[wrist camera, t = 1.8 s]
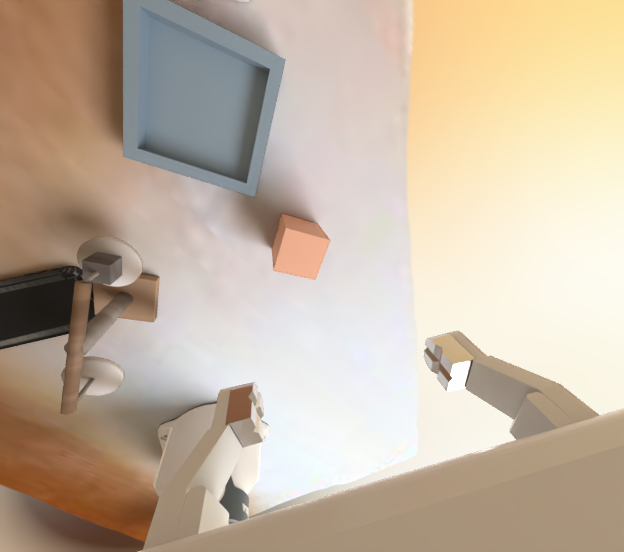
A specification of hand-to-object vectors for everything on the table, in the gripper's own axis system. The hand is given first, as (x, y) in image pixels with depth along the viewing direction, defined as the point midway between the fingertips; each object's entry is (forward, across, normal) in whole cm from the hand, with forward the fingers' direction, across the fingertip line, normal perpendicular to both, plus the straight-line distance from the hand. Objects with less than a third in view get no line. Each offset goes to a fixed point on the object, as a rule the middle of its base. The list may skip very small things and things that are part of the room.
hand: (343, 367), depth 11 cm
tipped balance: (+20, +21, +3) cm, 29 cm away
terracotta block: (+20, 0, 0) cm, 20 cm away
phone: (+20, +31, +2) cm, 37 cm away
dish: (+20, +6, -13) cm, 24 cm away
